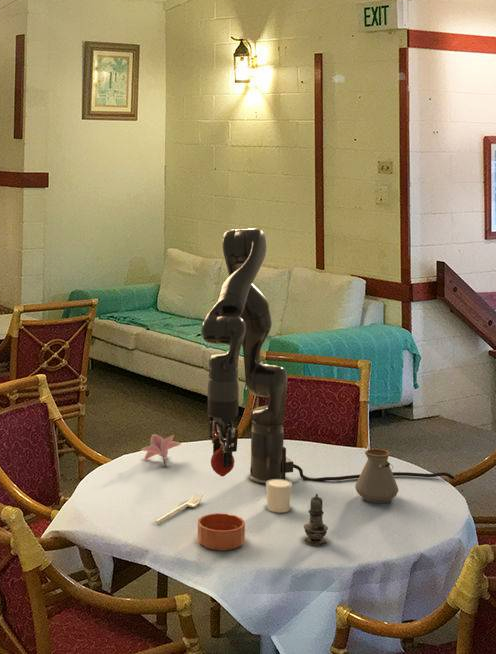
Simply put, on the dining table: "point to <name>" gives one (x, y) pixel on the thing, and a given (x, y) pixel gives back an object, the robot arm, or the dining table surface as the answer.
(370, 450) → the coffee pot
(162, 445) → the lily
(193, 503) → the fork
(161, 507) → the dining table surface
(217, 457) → the onion
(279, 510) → the cream cylinder
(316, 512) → the pawn-shaped pepper mill
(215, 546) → the bowl
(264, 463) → the robot arm
